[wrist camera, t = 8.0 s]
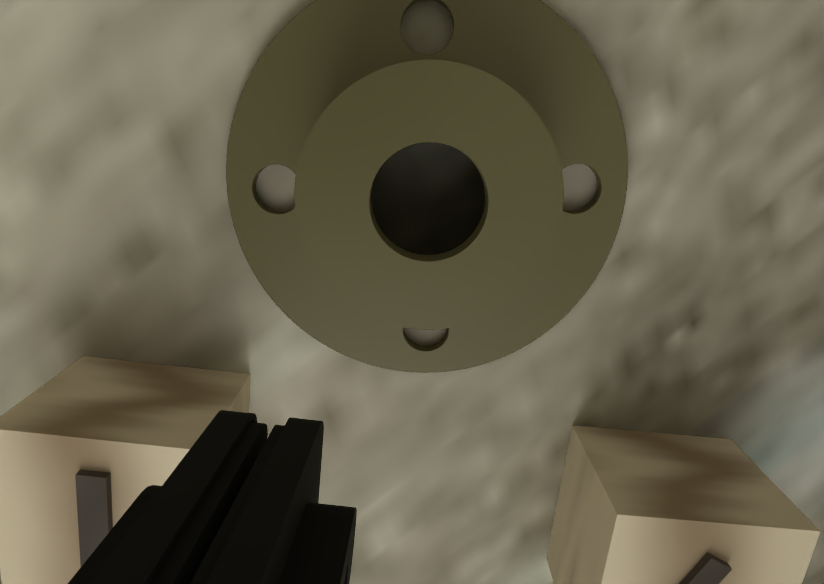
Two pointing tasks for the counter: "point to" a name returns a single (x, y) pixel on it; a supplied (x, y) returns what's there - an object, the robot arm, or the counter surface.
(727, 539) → the numeral block seven
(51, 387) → the numeral block one
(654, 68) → the counter surface
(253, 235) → the flange
